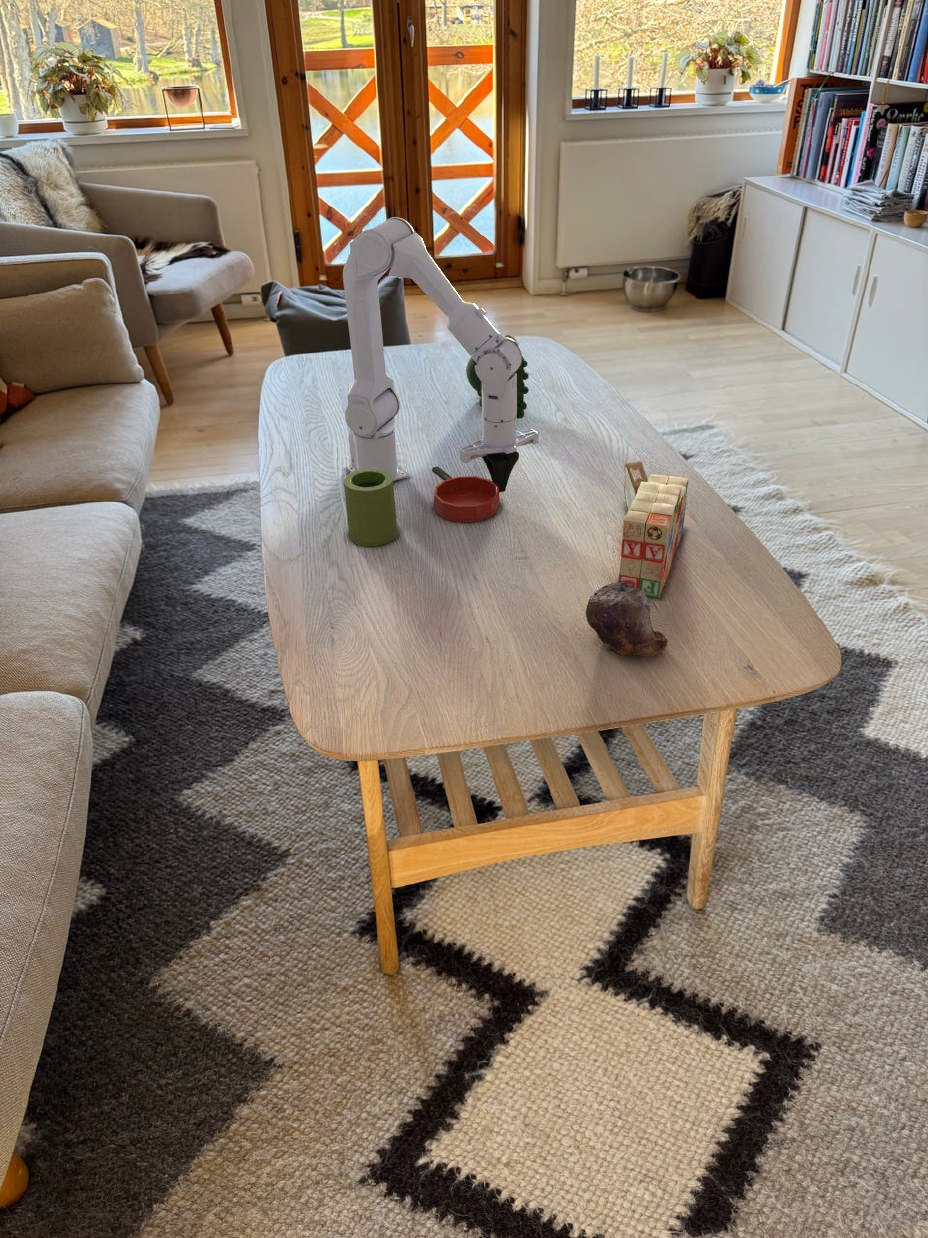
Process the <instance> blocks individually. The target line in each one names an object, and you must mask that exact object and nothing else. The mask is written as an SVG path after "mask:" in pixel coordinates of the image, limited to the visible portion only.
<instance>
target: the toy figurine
mask: <svg viewBox="0 0 928 1238" xmlns="http://www.w3.org/2000/svg"><path fill="white" fill-rule="evenodd" d="M503 336H504V337H506V338H510V339H512V340H514V341H515V342H516V343H517V345H518V347H519V348H520V345H519V342H518V340H517V339H516V338H515V337H514V336H513V335H511V334H506V335H503ZM524 357H525V356H523V355H522V362H521V365H520V366H519V368H518V369H517V371H515V372H514V373H516V374H517V420H521V419H523V418H524V417H525V410H526V409H527V408H528V404H527V402H526V401H524V400H525V395H527V394H528V393H529V391H530V390H529V387H528V386H526V384H525V381H526V380H528V379H529V377H530V374H529V373H528V372H526V370H525V368H526V367H528V361H527V360H526V359H525V358H524ZM475 365H477V363H476V362H475V361H474V360H473V358H472V357H471V356H470V358H469V360H468V362H467V364H466V366H465V373H466V378H467V381H468V383H469V385H470V386H471V387H472V389H474V390H475V391H476V393H477V395H478V397H479V400H478V405H479V407H480V408H482V382H481V380H480V379H479V377H478V376H477V374H476V371H475ZM514 373H513V374H514Z"/></svg>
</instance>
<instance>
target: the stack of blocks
mask: <svg viewBox="0 0 928 1238" xmlns="http://www.w3.org/2000/svg"><path fill="white" fill-rule="evenodd" d="M647 478H648V481H647V482H641V483H640V486H639V488H638V491H637V494H636V497H635V499H634V500H633V502H632V504H631V506H630V509H629V511H628V510H627V512H626V514H625V517H624V519H623V527H622V528H623V529H622V540H621V549H620V565H619V566H620V567H619V574H618V582H619V581H625V582H626V583H628V584H630V585H632V584H633V585H634V586H635V588H638V589H640V590H641V591H642V592H644V593H645V595H646V597H649V598H654V599H659V598H660V596H661V594H662V591H663V588H664V587H665V584H666V581H667V578H668V576H669V573H670V570H671V567H672V561H673V559H674V555H675V553H676V549H677V547H678V546H679V543H680V540H681V537H682V533H683V530H684V526H685V525H684V523H685V516H686V508H687V503H688V502H687V501H688V495H687V494H688V487H689V478H687V477H680V476H674V475H665V474H664V475H663V474H655V473H650V474H649V476H648V477H647Z"/></svg>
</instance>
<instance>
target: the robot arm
mask: <svg viewBox="0 0 928 1238" xmlns="http://www.w3.org/2000/svg"><path fill="white" fill-rule="evenodd" d="M349 249H350V251H349V252H348V253H349V254H348V256H347V259H346V261H345V264H344V266H343V269H342V280H343V290H344V298H345V299H344V300H345V308H346V315H347V324H348V326H347V327H348V333H349V343H350V351H351V352H350V353H351V359H352V360H351V361H352V370H353V381H352V383H351V385H350V388H349V390H348V393H347V407H346V409H345V413H344V417H345V422H346V425H347V427H348V428H349V432H348V446H349V456H350V464H349V465H346V470H347V471H348V472H349V473H351V472H353V471H357V470H360V469H369V468H375V469H382V470H385V471H388V472H389V473H390V474H392V475H393V482H395V481H399V480H403V479H406V478H407V477H408V475H407V473H406V472H404V471H403V470H402V469H401V468H399V467H398V453H397V437H396V426H395V425H396V424H395V423H396V421H395V420H396V419H395V418H396V416H397V415H398V414H399V412H400V409H401V400H400V397H399V395H398V393H397V391H396V389H395V385H394V384H395V383H394V379H392V378H391V376H389V375H388V374H387V372H386V361H385V349H384V340H383V338H384V337H383V328H382V317H381V308H380V297H379V285H378V281H379V280H380V279H381V278H382V277H383V276H384V275H385V274H386V273H387V271H388V270H389V269H390V270H389V273H388V276H389V277H397V278H405V279H410V280H412V281H413V282H414V283H415V284H416V285H417V286H418V287H419V288H420V289H421V290H422V291H423V292H424V294H425V295H426V296H427V297H428V298H429V299H430V300H431V301H432V302H433V303H434V304H435V306H437V307H438V308H439V310H440V311H441V312H442V313H443V314H444V315H445V316H446V327H447V330H448V331H449V332H450V333H451V335H452V336H453V337H454V338H455V339H456V341H457V342H458V343H459V344H460V346H461V347H462V348H463V349H464V350H465V352H466V353H467V354H468V355H469V356H470V358H471V357H472V358H473V360H474V361H475V362H476V363H477V365H475V371H476V374H477V376H478V377H479V379H480V380H481V382H482V407H481V434H482V435H481V438H478V439H477V440H475V441H473V442H472V443H470V444H468V445H466V446H462V447H460V448H458V456H459V457H458V458H459V460H460V461H461V462H462V463H465V464H467V463H470V462H471V460H476V459H478V458H479V459H480V458H481V459H482V460H483V462H484V463H485V466H486V468H487V470H488V473H489V476H490V480H491V481H492V482H494V483H495V484H496V485H498V486H499V494H500V493H504V492H506V490H507V486H508V483H509V480H510V476H511V473H512V471H513V469H514V467H515V465H516V464H517V463H518V461H519V459H520V452H518V451H517V448H519V447H522V446H525V445H530V444H531V445H536V444H539V432H538V431H536V430H535V429H533V428H529V429H525V430H517V429H518V428H517V423H518V421H517V420H518V418H517V374H516V373H514V372H515V371H517V369H518V368H519V366H520V365H521V362H522V356H523V353H522V350H521V348H520V346H519V347H518V345H519V344H518V345H517V343H516V342H515V341H514V340H512V339H510V338H506V337H504V336H505V335H504V334H503V333H500V332H499V331H498V330H497V329H496V328H495V326H494V325H493V324H492V322H490V320H489V318H487V316H486V314H487V312H486V311H485V309H484V308H483V307H482V306H481V307H478V306H477V305H476V303H475V302H469V301H465V300H463V299H462V298H461V296H460V295H459V294H458V292H457V291H456V289H455V288H454V286H453V285H452V284H451V282H450V281H449V280H448V278H447V277H446V275H445V274H444V273H443V271H442V270H441V268H440V267H439V266H438V264H437V263H436V262H435V261H434V258H433V257H432V256H431V255H430V253H429V252H428V250H427V248H426V245H425V243H424V240H423V238H422V236H421V235H419V234H418V232H415V230H414V228H413V227H412V225H411V224H410V223H409V222H408V221H407V220H406V219H404V218H402V217H398V216H393V217H390V218H387V219H386V220H385V221H383V222H382V223H380V224H377V225H375V226H373V227H371V228H369V229H365V230H363V231H362V232H360V233H359V234H357V236H356V237H355V238H354V239H353V240H351V241H350V242H349ZM513 373H514V374H513Z"/></svg>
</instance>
